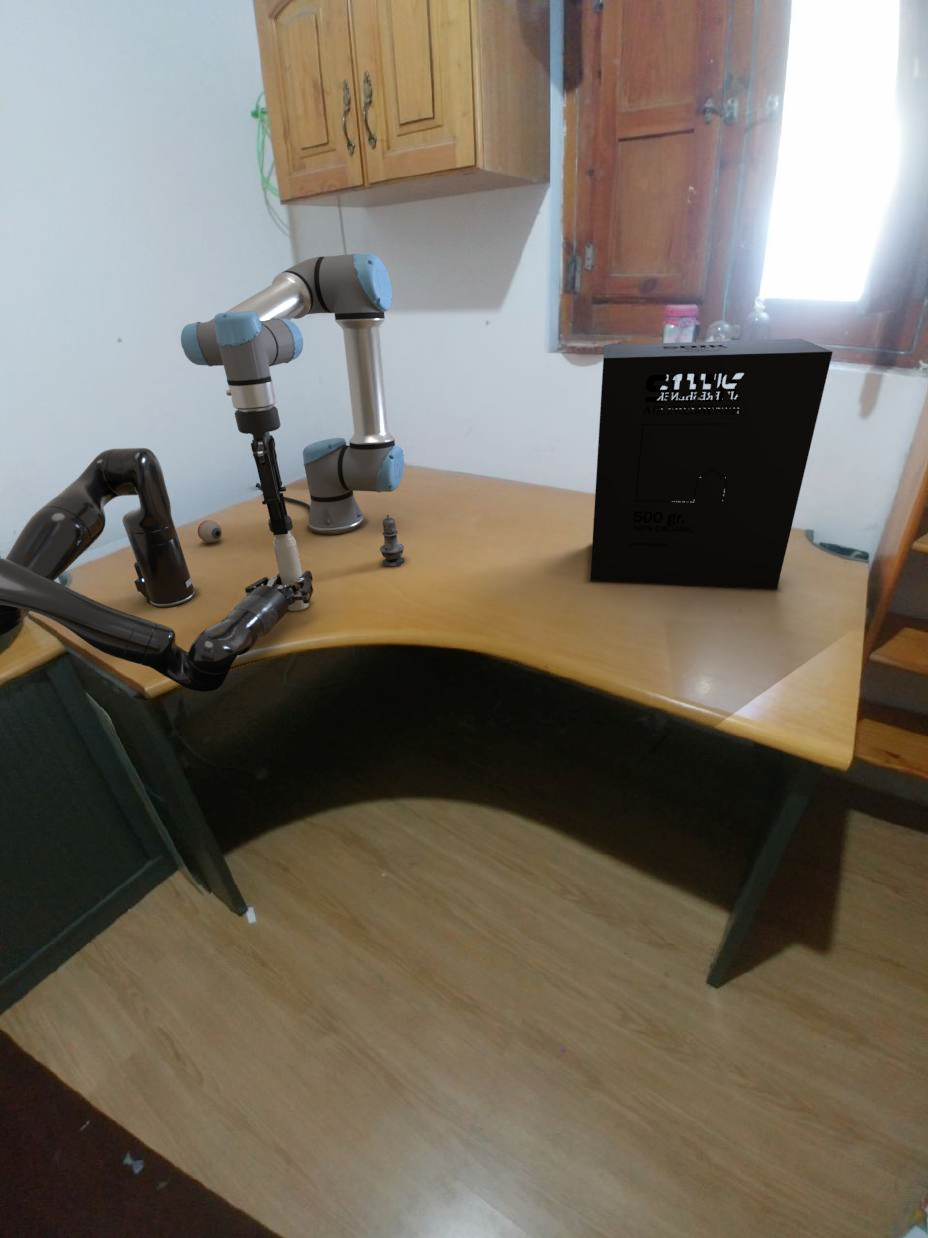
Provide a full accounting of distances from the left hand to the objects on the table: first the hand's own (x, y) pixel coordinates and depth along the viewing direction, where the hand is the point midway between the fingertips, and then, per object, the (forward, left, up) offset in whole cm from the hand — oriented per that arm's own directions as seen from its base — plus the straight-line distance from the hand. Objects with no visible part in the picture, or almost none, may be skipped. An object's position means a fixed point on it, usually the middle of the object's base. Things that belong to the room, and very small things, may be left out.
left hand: (298, 574), depth 128 cm
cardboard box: (+79, +26, -6) cm, 84 cm away
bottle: (0, -3, -6) cm, 7 cm away
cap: (0, -3, +13) cm, 13 cm away
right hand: (0, -3, +11) cm, 12 cm away
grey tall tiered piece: (+14, +21, -6) cm, 26 cm away
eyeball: (-40, +28, -6) cm, 49 cm away
